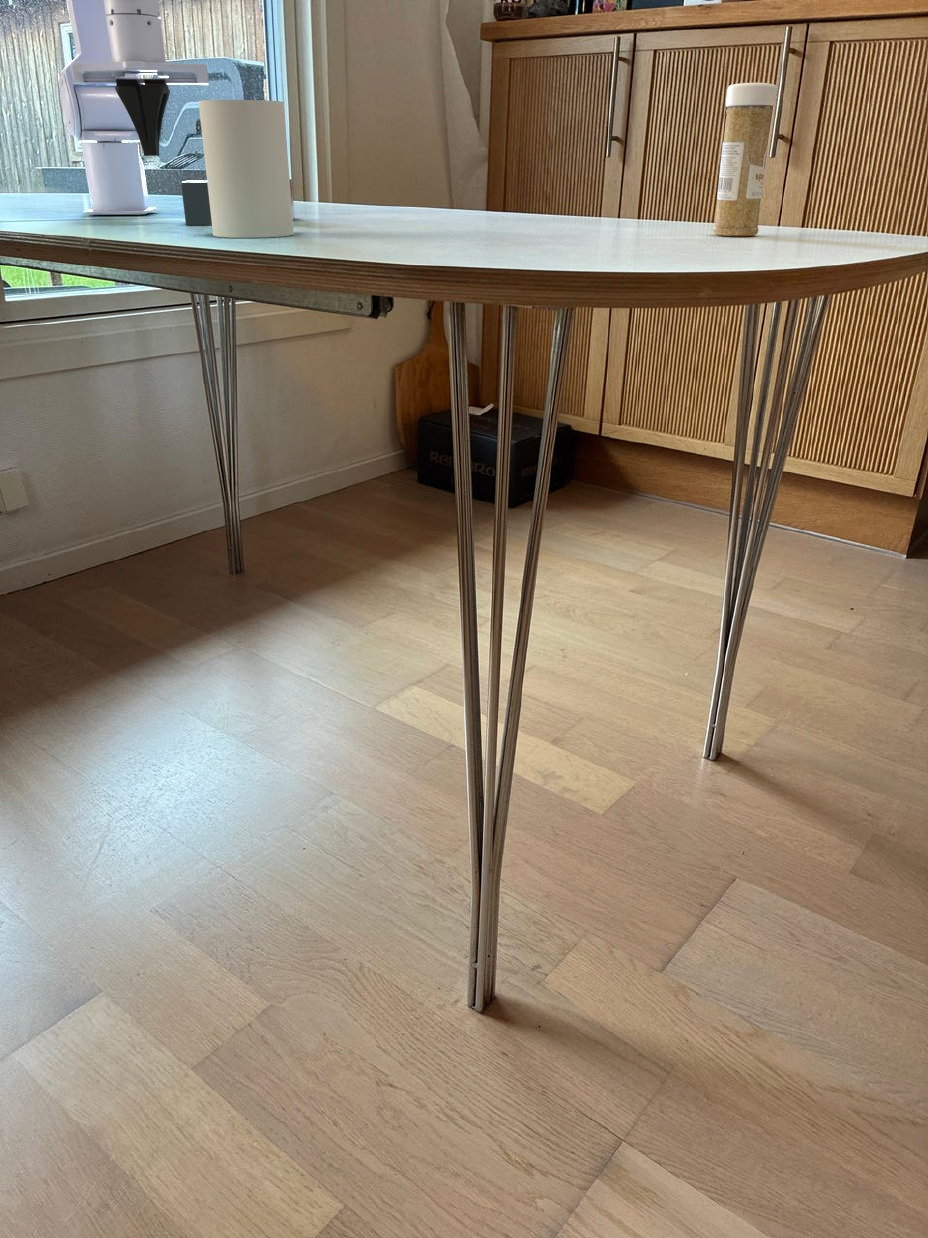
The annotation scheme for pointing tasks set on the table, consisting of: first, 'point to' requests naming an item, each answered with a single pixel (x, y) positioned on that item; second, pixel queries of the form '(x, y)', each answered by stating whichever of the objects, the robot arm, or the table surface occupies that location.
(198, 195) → the slate block
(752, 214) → the spice jar
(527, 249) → the table surface
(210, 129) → the cup
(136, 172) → the robot arm
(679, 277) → the table surface
